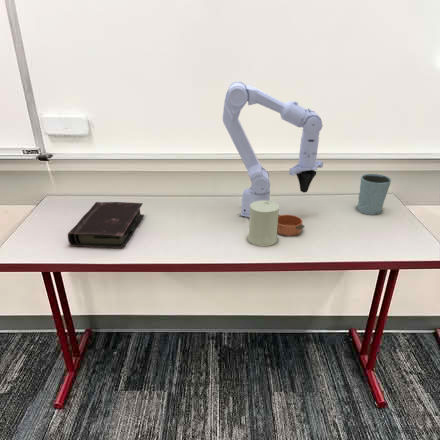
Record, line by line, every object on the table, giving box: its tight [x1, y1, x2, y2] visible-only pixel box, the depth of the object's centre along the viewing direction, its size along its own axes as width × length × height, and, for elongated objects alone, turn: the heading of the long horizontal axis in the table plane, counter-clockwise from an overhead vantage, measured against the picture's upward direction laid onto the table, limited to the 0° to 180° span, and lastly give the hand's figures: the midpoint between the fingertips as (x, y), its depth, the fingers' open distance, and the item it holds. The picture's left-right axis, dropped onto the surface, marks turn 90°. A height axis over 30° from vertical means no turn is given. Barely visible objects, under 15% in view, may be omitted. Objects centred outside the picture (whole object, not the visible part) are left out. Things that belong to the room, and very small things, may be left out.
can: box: [247, 200, 280, 247], centre depth 133 cm, size 9×9×12 cm
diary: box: [67, 201, 145, 249], centre depth 141 cm, size 19×25×5 cm
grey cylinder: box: [356, 173, 392, 216], centre depth 153 cm, size 10×10×12 cm
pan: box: [277, 213, 305, 237], centre depth 141 cm, size 9×12×4 cm
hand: (303, 191), depth 147 cm, fingers closed
